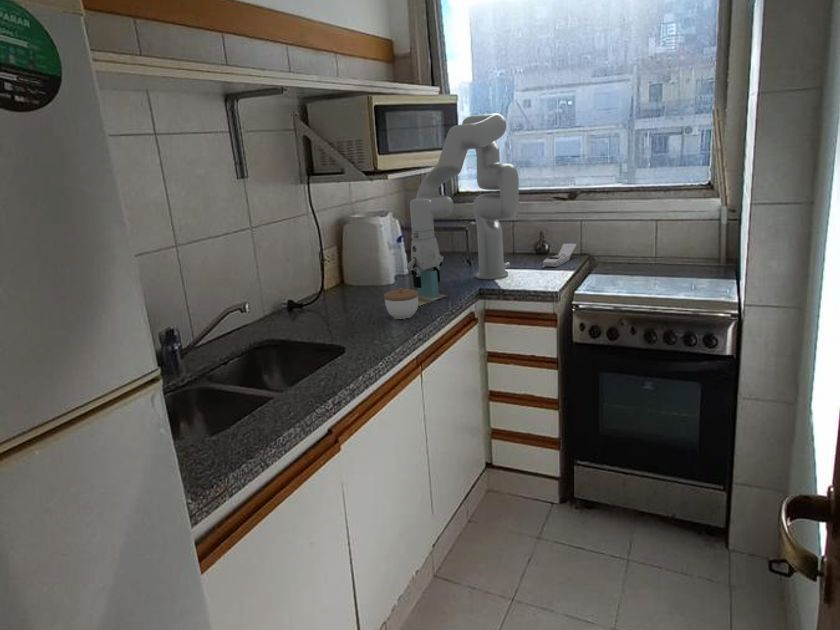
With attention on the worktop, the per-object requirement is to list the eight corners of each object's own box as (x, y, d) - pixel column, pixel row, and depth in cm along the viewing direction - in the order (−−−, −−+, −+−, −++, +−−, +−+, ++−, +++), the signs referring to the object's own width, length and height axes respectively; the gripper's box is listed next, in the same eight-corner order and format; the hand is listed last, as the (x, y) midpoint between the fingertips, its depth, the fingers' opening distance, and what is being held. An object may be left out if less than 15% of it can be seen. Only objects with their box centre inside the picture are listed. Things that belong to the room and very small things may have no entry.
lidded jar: (426, 313, 194) (424, 285, 191) (407, 323, 185) (405, 293, 183) (398, 310, 200) (396, 283, 197) (379, 320, 191) (376, 291, 189)
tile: (424, 293, 216) (422, 269, 214) (438, 296, 211) (436, 270, 209) (418, 295, 214) (416, 270, 212) (432, 298, 209) (430, 272, 207)
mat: (424, 293, 219) (424, 291, 219) (447, 297, 212) (447, 295, 212) (392, 304, 209) (392, 302, 208) (415, 308, 201) (415, 306, 201)
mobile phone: (577, 243, 258) (553, 254, 239) (577, 257, 260) (554, 269, 240) (563, 243, 262) (539, 254, 242) (564, 256, 263) (539, 268, 244)
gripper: (413, 240, 198) (417, 291, 203) (448, 231, 210) (451, 280, 215) (397, 238, 203) (401, 289, 208) (432, 230, 215) (436, 278, 220)
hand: (427, 284), depth 212 cm, fingers open, 9 cm apart
